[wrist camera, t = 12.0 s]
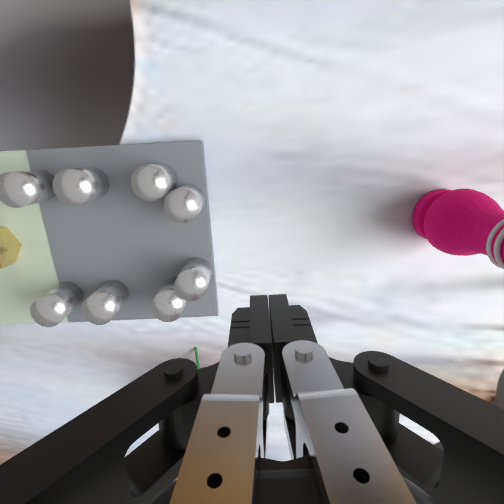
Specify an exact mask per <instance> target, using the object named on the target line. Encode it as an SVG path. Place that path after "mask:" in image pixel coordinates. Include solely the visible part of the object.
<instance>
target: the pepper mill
mask: <svg viewBox="0 0 504 504" xmlns="http://www.w3.org/2000/svg"><path fill="white" fill-rule="evenodd" d="M413 225H414V228H415V230H416V231H417V233H418V234H420V235H421V236H422V237H424V238H426V239H428V241H429V242H430V243H431V244H432V245H433V246H434V247H435V248H436V249H438V250H440V251H442V252H445V253H448V254H453V255H465V256H466V255H473V254H480V253H482V254H485V255H488V257H489V259H490V261H491V262H492V263H493V264H495V265H496V266H498V267H500V268H503V269H504V211H503V210H502V209H501V207H500V206H499V205H498V204H497V202H496V201H494V200H493V199H492V198H490V197H489V196H487V195H486V194H484V193H481V192H478V191H475V190H471V189H457V190H453V191H452V190H446V189H439V190H435V191H432V192H430V193H428V194H426V195H425V196H424V197H423V198H422V199H421V200H420V201H419V202H418V203H417V205H416V207H415V209H414V212H413Z"/></svg>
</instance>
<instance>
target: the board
mask: <svg viewBox="0 0 504 504" xmlns="http://www.w3.org/2000/svg"><path fill="white" fill-rule="evenodd" d="M158 163H163V164H167V165H169V166H170V167H172V168H173V169H174V171H175V172H176V174H177V178H178V182H177V186H176V188H175V189H177V188H179V187H181V186H183V185H186V184H193V185H196V186H197V187H199V188H200V189H201V190H202V191H203V193H204V195H205V205H204V207H203V209H202V210H201V211H200V212H199V214H198V215H197V216H196V217H195V218H194V219H193V220H192V221H190V222H188V223H183V224H181V223H176V222H174V221H172V220H171V219H170V218H169V217H168V216H167V215H166V213H165V210H164V200H165V197H166V196H167V195H166V196H164V197H162V198H160V199H158V200H155V201H146V200H143V199H141V198H139V197H138V196H137V195H136V194H135V193H134V191H133V189H132V186H131V177H132V174H133V172H134V171H135V170H136V169H137V168H138V167H140V166H143V165H150V164H158ZM84 167H96V168H99V169H101V170H102V171H103V172H104V173H105V174H106V175H107V177H108V179H109V190H108V192H107V194H106V195H105V196H103V197H101V198H98V199H94V200H91V201H88V202H84V203H81V204H78V205H69V204H66V203H64V202H63V201H61V200H60V199H59V198H58V197H57V196H56V197H55V198H54V199H52V200H49V201H45V202H41V203H37V204H32V205H28V206H24V207H20V208H13V207H9V206H7V205H5V204H4V203H3V202H1V200H0V227H7V228H8V229H9V230H10V231H11V232H12V233H13V235H14V236H15V237H16V238H17V239H18V240H19V242H20V243H21V244H22V246H21V249H20V252H19V255H18V258H17V261H16V262H15V263H13V264H11V265H9V266H7V267H5V268H2V269H0V325H9V324H32V323H36V322H35V321H34V320H33V318H32V317H31V314H30V307H31V305H32V303H33V302H34V301H36V300H37V299H39V298H40V297H42V296H43V295H45V294H46V293H47V292H49V291H50V290H52V289H53V288H55V287H56V286H58V285H59V284H61V283H63V282H72V283H74V284H76V285H78V286H79V287H80V288H81V290H82V292H83V295H84V298H83V301H82V303H81V304H80V305H79V306H78V307H77V308H75V309H74V310H73V311H72V312H71V313H70V314H69V315H67V316H66V317H65V318H64V319H63V320H62V321H61V322H86V321H88V320H87V319H86V318H85V317H84V316H83V313H82V304H83V302H84V301H85V300H86V299H87V298H88V297H89V296H91V295H92V294H93V293H94V292H95V291H96V290H97V289H98V288H100V287H101V286H102V285H103V284H104V283H105V282H107V281H109V280H118V281H121V282H122V283H124V284H125V285H126V286H127V288H128V290H129V298H128V300H127V301H126V302H125V304H124V305H123V306H122V307H121V308H120V310H119V311H118V312H117V313H116V314H115V315H114V317H113V318H112V319H111V320H132V319H155V318H156V317H155V316H154V314H153V313H152V310H151V303H152V300H153V299H154V297H155V296H156V294H157V293H158V291H159V290H160V288H161V287H162V286H163V284H164V283H165V281H166V280H167V279H169V278H171V277H177V276H178V275H179V273H180V272H181V270H182V268H183V267H184V265H185V263H186V262H187V261H188V260H189V259H191V258H194V257H200V258H203V259H205V260H207V261H208V262H209V264H210V265H211V268H212V275H211V278H210V281H209V284H208V287H207V289H206V292H205V294H204V296H203V297H202V298H200V299H199V300H196V301H187V302H186V304H185V307H184V309H183V311H182V314H181V315H180V317H201V316H218V301H217V290H216V279H215V268H214V257H213V246H212V235H211V224H210V213H209V202H208V191H207V180H206V169H205V158H204V147H203V141H185V142H166V143H148V144H129V145H111V146H92V147H73V148H54V149H35V150H17V151H0V174H2V173H5V172H16V171H28V170H46V171H48V172H50V173H51V174H52V175H53V176H54V177H55V175H56V174H57V173H58V172H59V171H61V170H64V169H73V168H84Z"/></svg>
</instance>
